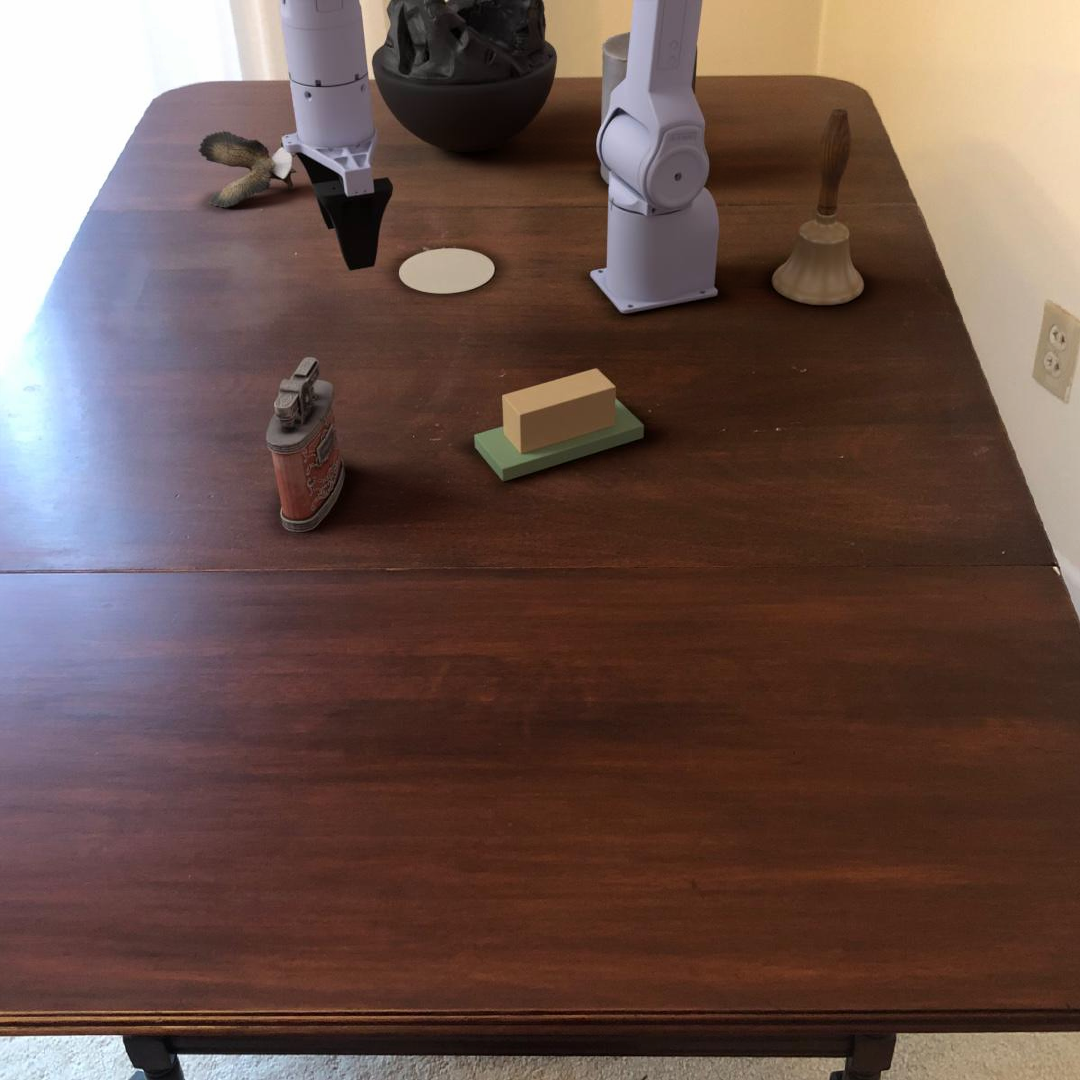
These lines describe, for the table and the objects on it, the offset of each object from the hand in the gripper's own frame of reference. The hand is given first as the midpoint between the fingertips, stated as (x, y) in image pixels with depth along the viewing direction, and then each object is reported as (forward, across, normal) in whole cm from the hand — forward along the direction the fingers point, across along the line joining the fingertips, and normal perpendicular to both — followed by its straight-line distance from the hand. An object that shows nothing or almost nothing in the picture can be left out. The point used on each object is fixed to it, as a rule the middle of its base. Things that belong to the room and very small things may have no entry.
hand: (350, 245), depth 98 cm
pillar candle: (+10, -25, +37) cm, 46 cm away
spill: (+10, -12, +11) cm, 19 cm away
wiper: (+10, +18, +11) cm, 24 cm away
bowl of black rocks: (+10, -40, +22) cm, 46 cm away
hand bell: (+10, +3, +42) cm, 43 cm away
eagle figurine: (+10, -36, -3) cm, 37 cm away
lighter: (+10, +18, -8) cm, 22 cm away
